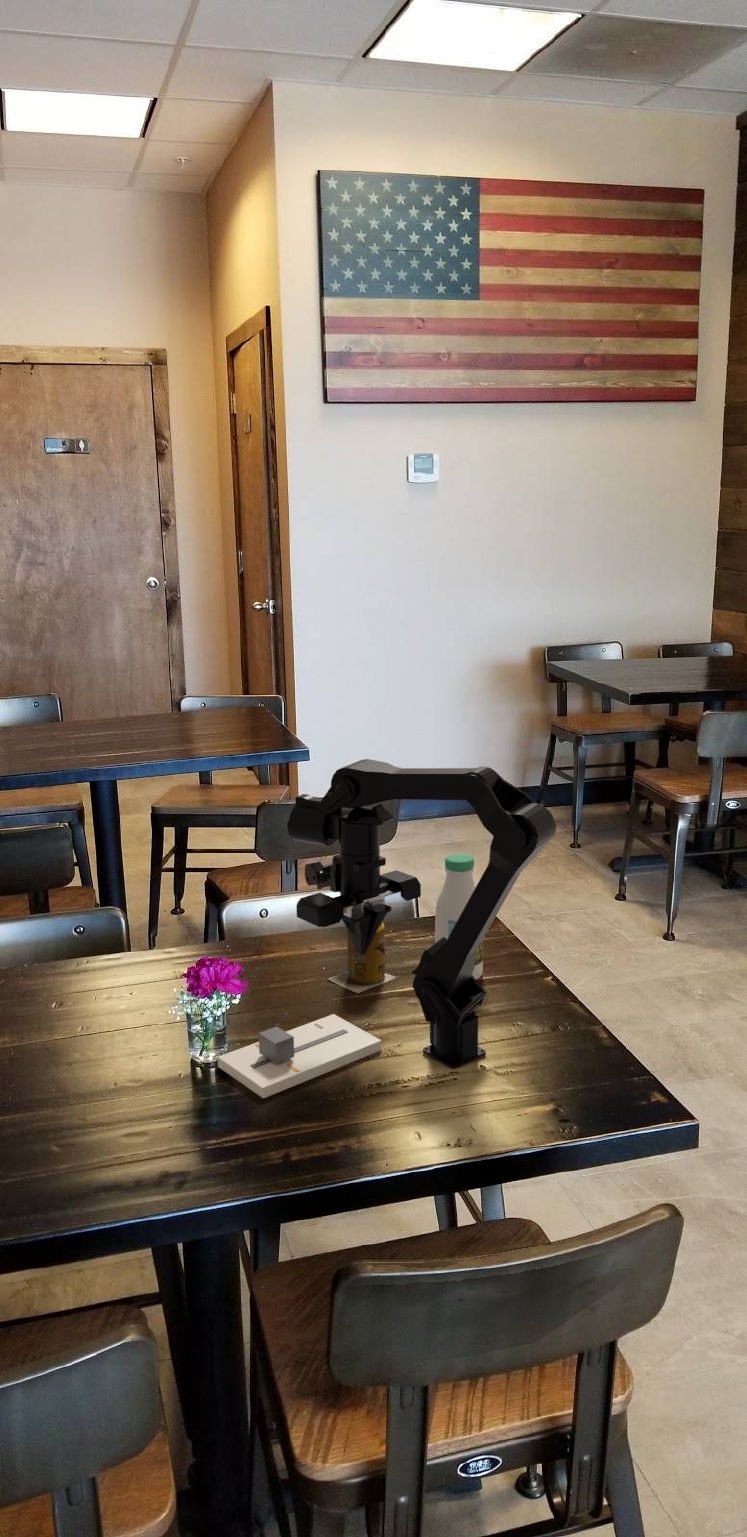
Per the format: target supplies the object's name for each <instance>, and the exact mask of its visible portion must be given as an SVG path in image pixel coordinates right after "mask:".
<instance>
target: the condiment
mask: <svg viewBox="0 0 747 1537" xmlns="http://www.w3.org/2000/svg"><path fill="white" fill-rule="evenodd" d="M383 922H384V921H382V923H381V925H380V926H379V928H378V930H377V932H376V934H375V936H374V938H373V940H372V942H371V944H370V946H369V948H368V950H367V952H366V954H364V955H359V954H357V952H356V950H355V947H354V945H353V942H352V940H351V937H350V935H349V932H348V930H347V929H346V936H347V938H346V941H347V942H346V944H347V949H346V950H347V951H346V952H347V971H346V972H345V971H344V972H341V973H340V974H337V975H334V976H331V977H329V978H328V977H327V980H329V981H330V982H331V983H335V985H338V986H340V987H342V988H344V989H347V990H350V991H352V992H354V993H357V994H360V993H361V992H365V991H367V990H369V989H372V988H374V987H375V988H376V987H377V986H381V985H383V984H386V983H387V982H389V981H392V980H395V979H396V978H397V976H394V975H392V974H389V973H386V952H385V951H386V948H385V947H386V946H385V944H386V942H385V939H386V938H385V936H386V935H385V924H384V923H383Z"/></svg>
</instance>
